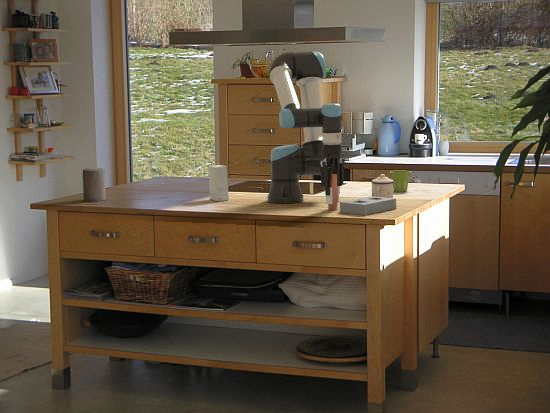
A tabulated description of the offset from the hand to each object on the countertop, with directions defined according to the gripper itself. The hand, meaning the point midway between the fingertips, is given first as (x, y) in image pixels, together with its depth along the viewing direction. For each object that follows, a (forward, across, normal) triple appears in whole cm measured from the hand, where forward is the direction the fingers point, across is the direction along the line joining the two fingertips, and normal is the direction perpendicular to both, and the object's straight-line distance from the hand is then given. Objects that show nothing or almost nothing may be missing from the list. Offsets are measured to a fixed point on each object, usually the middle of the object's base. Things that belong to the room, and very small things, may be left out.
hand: (332, 202), depth 373 cm
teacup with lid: (+3, +25, -5) cm, 26 cm away
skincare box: (+3, -8, +57) cm, 58 cm away
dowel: (+3, 0, 0) cm, 3 cm away
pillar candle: (+3, -40, +102) cm, 110 cm away
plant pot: (+3, +60, +11) cm, 61 cm away
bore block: (+3, +6, -13) cm, 15 cm away
